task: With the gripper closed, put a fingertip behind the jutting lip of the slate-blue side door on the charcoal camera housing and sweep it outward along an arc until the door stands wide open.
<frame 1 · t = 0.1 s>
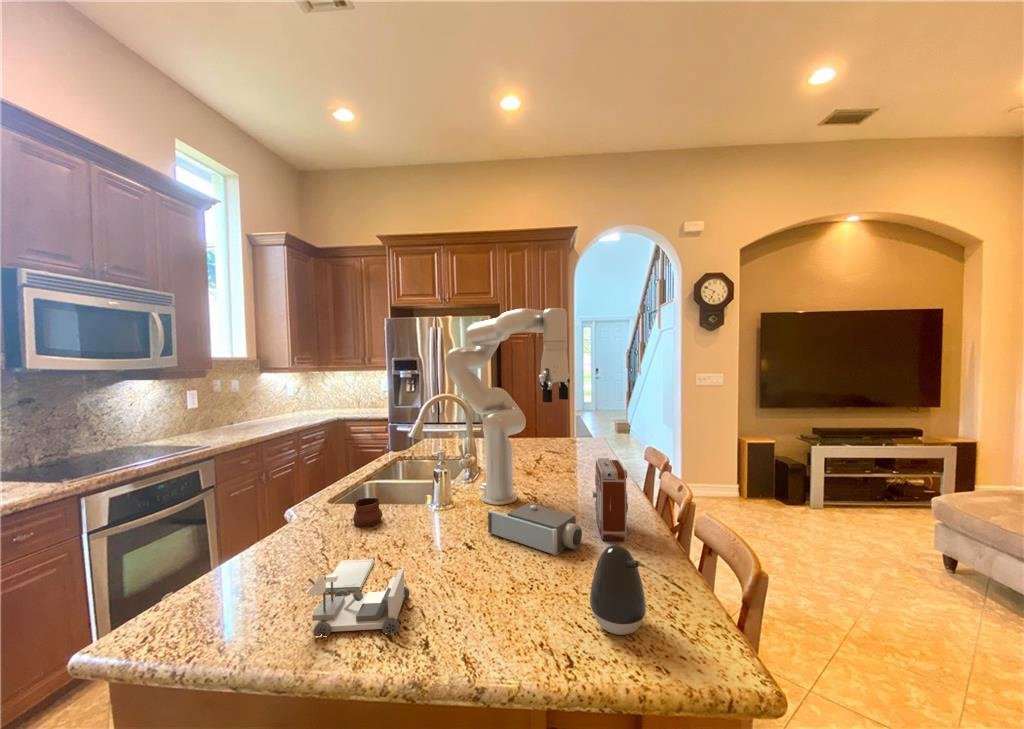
hand: (555, 400, 132), 37 cm above the counter, tool pointing down, fingers open, 9 cm apart
side door: (520, 531, 112), point 4 cm above the counter, hinge at 0.0°
dark grey egg-shaped piece: (618, 626, 78), on the counter
camera housing: (541, 539, 115), on the counter
toy car: (358, 619, 81), on the counter
hard drive: (349, 580, 96), on the counter
ceramic pot: (368, 524, 128), on the counter
cine camera: (609, 528, 122), on the counter
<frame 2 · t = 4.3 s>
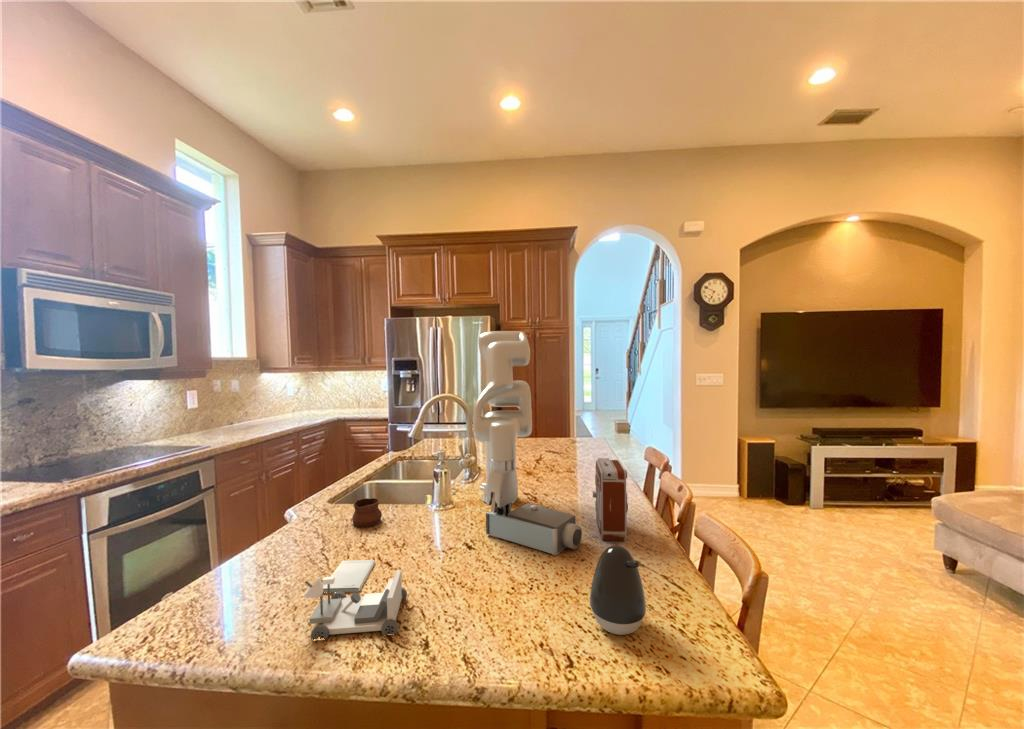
hand: (503, 527, 119), 2 cm above the counter, tool pointing down, fingers closed
side door: (519, 532, 111), point 4 cm above the counter, hinge at 2.7°, touching gripper
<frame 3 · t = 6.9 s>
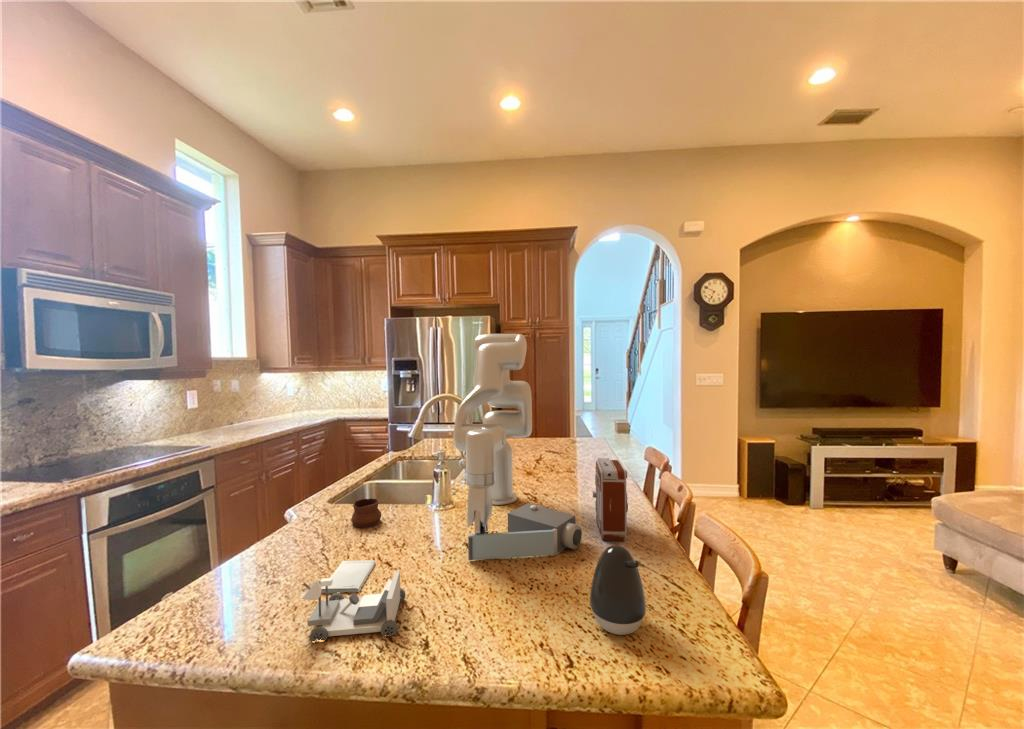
hand: (481, 547, 107), 2 cm above the counter, tool pointing down, fingers closed
side door: (513, 544, 104), point 4 cm above the counter, hinge at 44.2°, touching gripper
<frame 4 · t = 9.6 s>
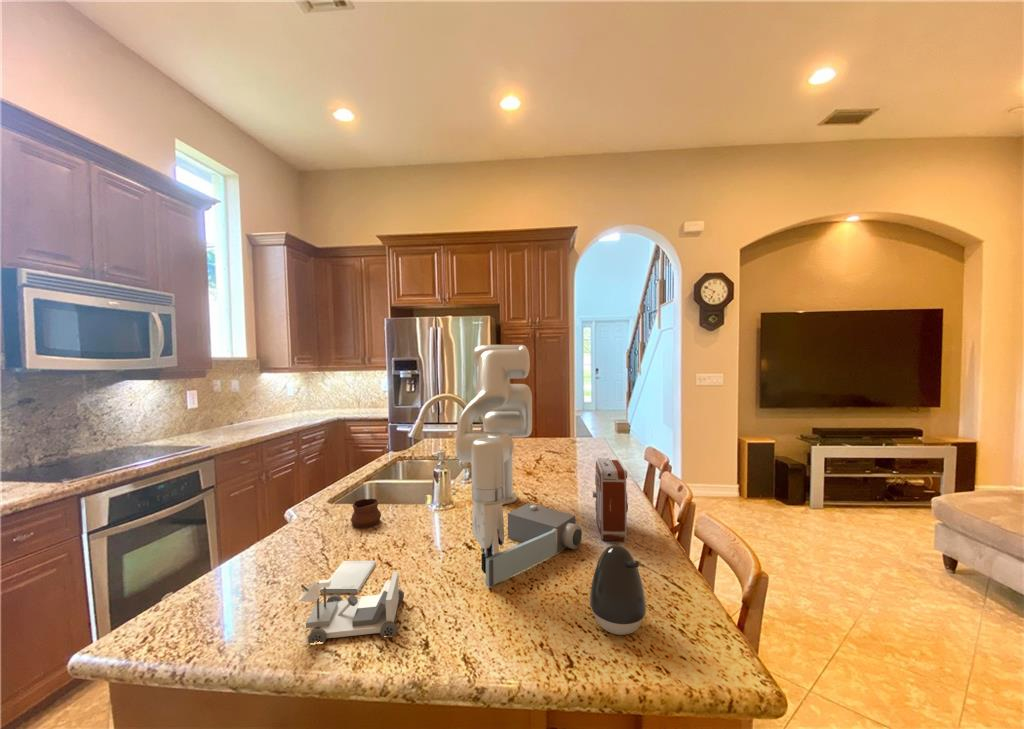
hand: (489, 570, 96), 1 cm above the counter, tool pointing down, fingers closed
side door: (524, 556, 98), point 4 cm above the counter, hinge at 79.6°, touching gripper
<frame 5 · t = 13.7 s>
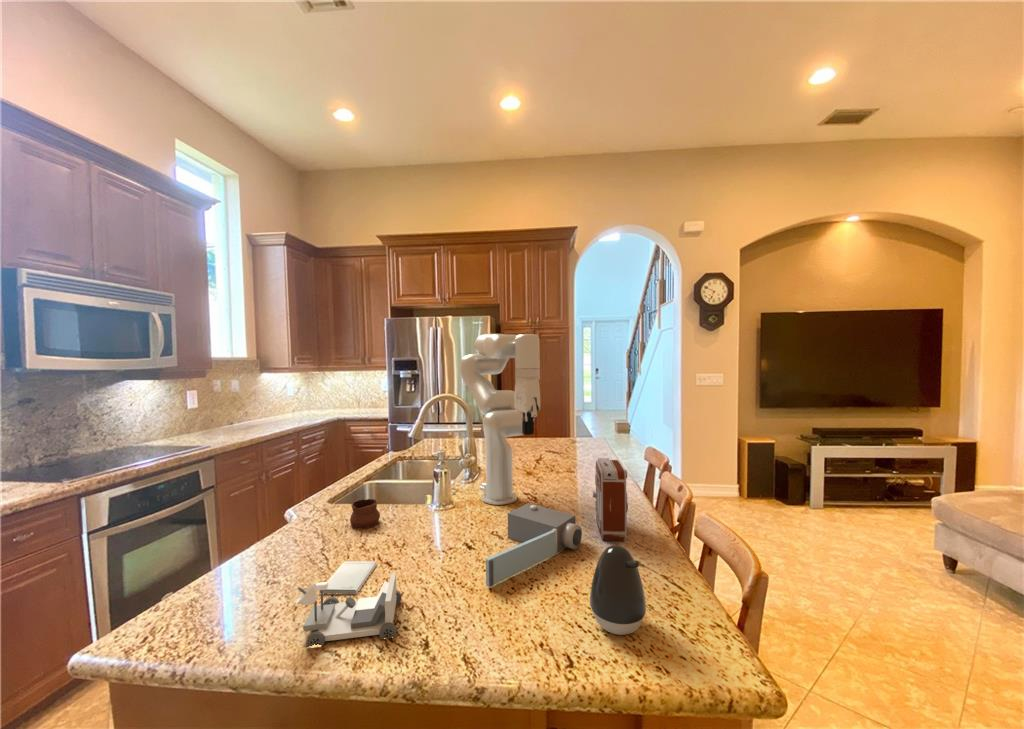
hand: (528, 434, 127), 27 cm above the counter, tool pointing down, fingers closed
side door: (524, 556, 98), point 4 cm above the counter, hinge at 79.6°
at the end: side door at +80° (first picture: +0°) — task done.
